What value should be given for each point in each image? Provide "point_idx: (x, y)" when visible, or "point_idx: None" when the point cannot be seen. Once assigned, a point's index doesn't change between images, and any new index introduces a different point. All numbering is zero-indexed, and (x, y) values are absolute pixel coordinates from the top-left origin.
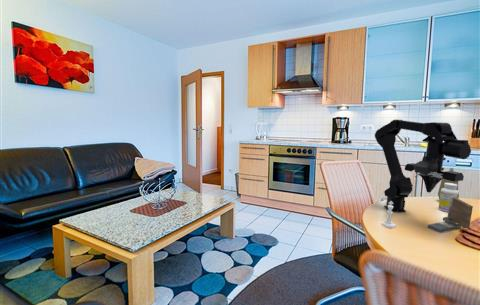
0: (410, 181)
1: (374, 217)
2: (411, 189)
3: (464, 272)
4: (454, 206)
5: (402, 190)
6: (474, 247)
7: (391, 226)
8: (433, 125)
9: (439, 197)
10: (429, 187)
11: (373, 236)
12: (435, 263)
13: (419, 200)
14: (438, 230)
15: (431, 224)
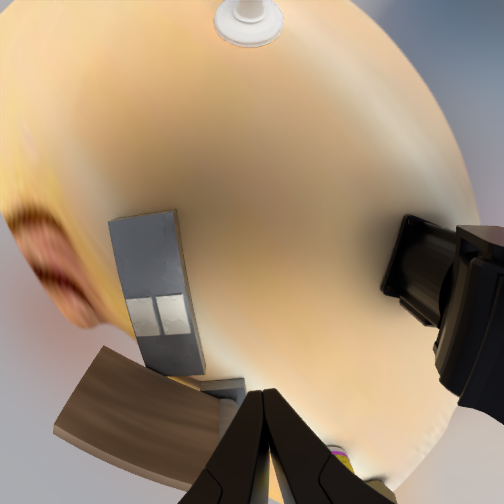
0: (495, 412)
1: (355, 42)
2: (447, 378)
3: None
4: (194, 446)
5: (473, 282)
6: (12, 231)
7: (217, 8)
8: None
9: (382, 487)
10: (242, 437)
11: None
12: (6, 17)
13: (417, 437)
14: (119, 218)
15: (172, 238)
